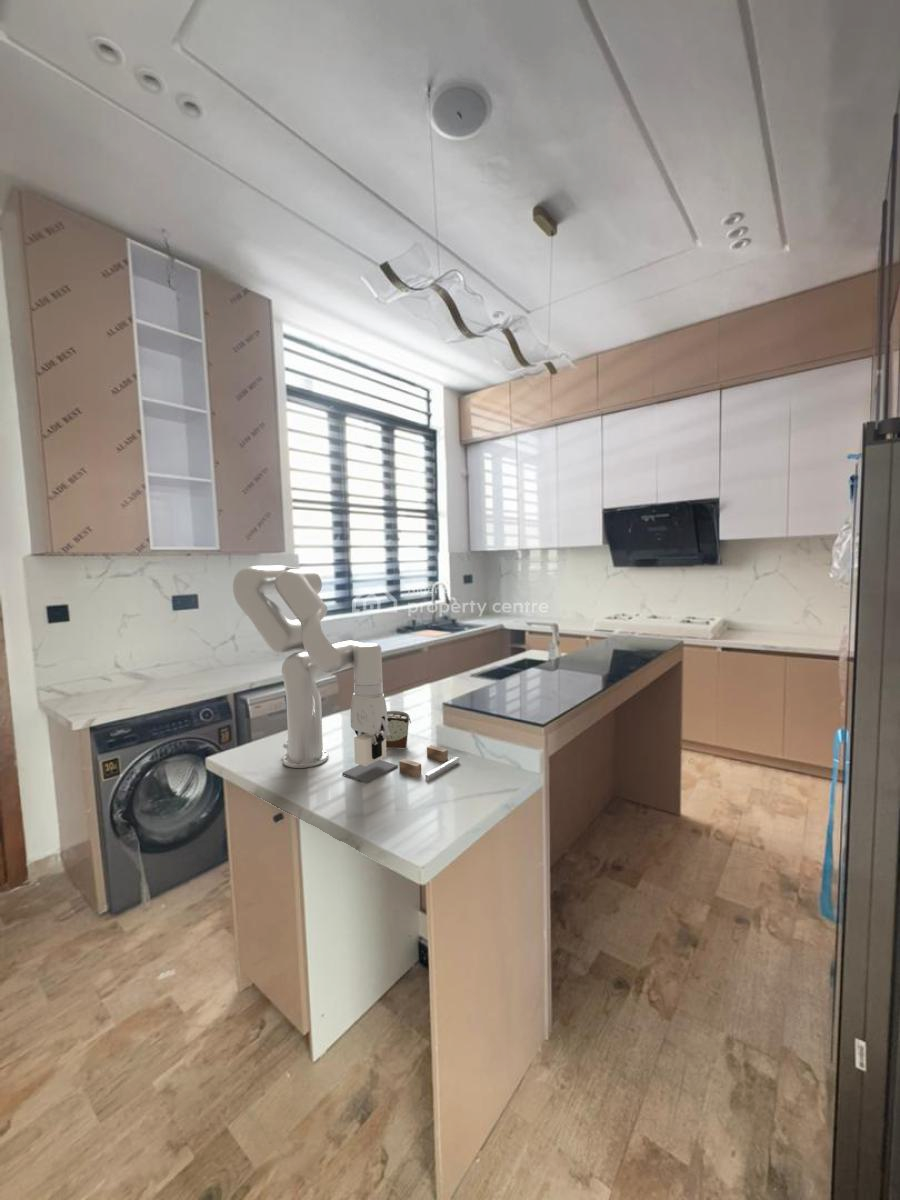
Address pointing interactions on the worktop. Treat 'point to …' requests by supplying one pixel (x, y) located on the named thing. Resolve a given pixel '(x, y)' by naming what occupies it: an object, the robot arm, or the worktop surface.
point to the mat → (370, 771)
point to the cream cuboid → (366, 749)
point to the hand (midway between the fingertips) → (370, 754)
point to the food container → (397, 729)
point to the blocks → (432, 753)
